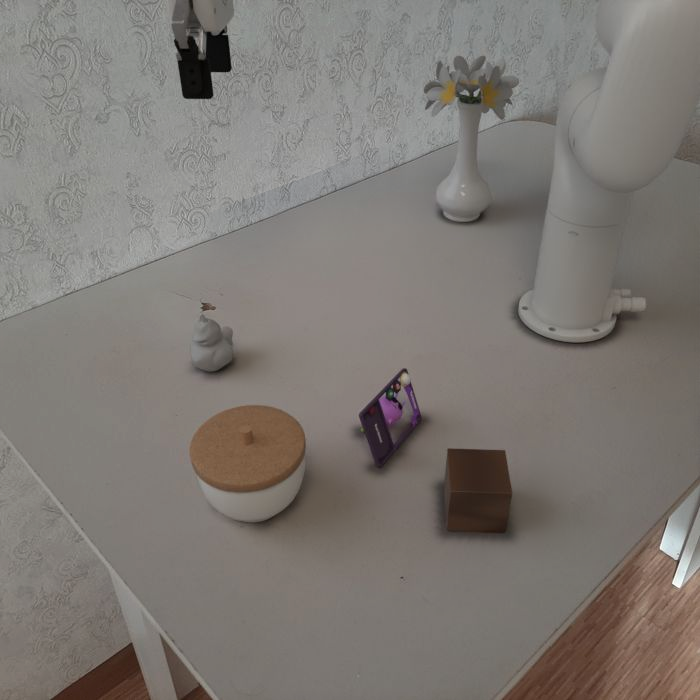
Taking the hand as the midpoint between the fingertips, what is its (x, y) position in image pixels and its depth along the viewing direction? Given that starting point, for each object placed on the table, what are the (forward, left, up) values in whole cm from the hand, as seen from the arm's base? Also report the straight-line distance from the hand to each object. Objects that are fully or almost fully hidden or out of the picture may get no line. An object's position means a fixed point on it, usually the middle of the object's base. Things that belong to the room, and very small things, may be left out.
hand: (208, 84), depth 80 cm
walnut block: (-29, +33, -31) cm, 54 cm away
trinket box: (-8, +33, -31) cm, 46 cm away
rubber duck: (+1, +11, -31) cm, 33 cm away
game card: (-20, +23, -31) cm, 44 cm away
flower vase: (-32, -32, -31) cm, 55 cm away
